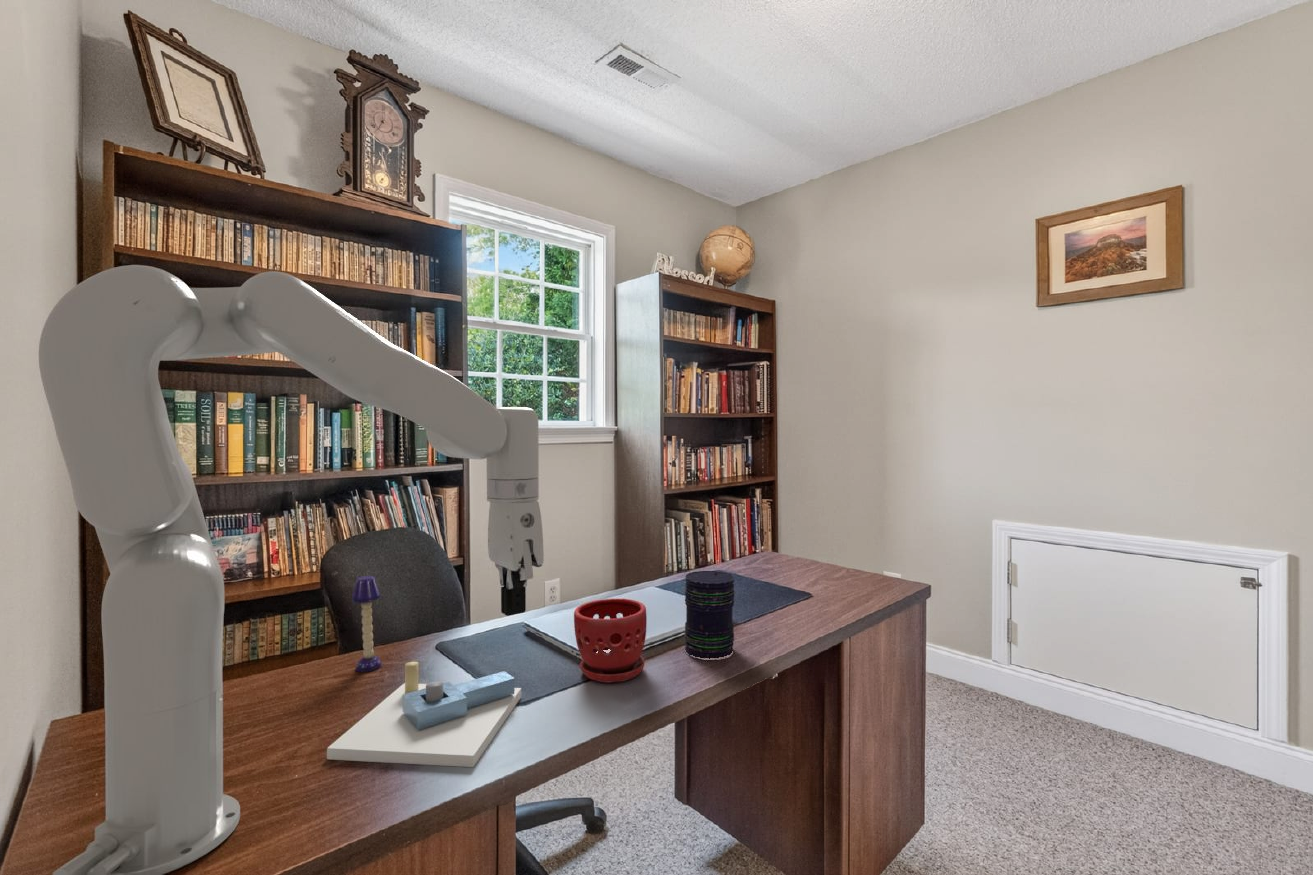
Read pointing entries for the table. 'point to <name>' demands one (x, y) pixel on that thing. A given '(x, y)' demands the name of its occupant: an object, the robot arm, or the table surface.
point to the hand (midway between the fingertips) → (513, 612)
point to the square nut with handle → (455, 699)
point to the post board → (422, 730)
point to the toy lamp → (367, 620)
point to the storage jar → (709, 614)
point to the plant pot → (611, 639)
